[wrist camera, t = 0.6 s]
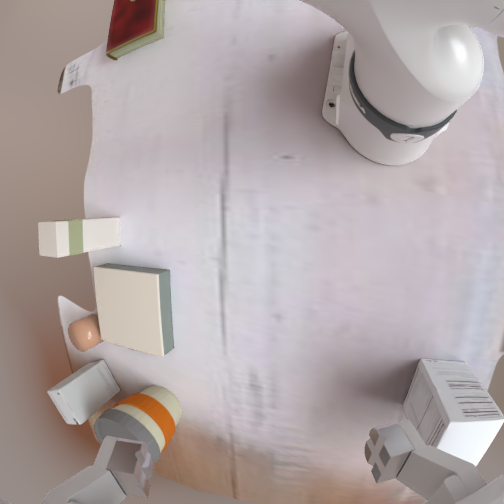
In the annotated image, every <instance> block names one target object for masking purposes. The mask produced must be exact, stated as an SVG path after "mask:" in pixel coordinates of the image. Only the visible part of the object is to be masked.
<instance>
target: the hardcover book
mask: <svg viewBox="0 0 504 504" xmlns="http://www.w3.org/2000/svg"><path fill="white" fill-rule="evenodd" d="M164 10H165V0H115V1H114V6H113V11H112V17H111V23H110V29H109V36H108V43H107V51H106V55H107V56H108V57H110V58H111V59H113V60H117V58H119V57H121V56H123V55H125V54H127V53H129V52H131V51H134V50H136V49H138V48H140V47H143V46H145V45H147V44H150V43H152V42H155V41H157V40H159V39H162V38H163V32H164Z"/></svg>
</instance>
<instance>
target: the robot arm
mask: <svg viewBox="0 0 504 504" xmlns="http://www.w3.org/2000/svg"><path fill="white" fill-rule="evenodd" d="M300 1H302V2H304V3H307V4H309V5H311V6H313V7H315V8H316V9H318V10H320V11H322V12H324V13H325V14H327V15H328V16H330V17H331V18H333V19H334V20H335V21H336V22H338V23H339V24H340V25H342V26H343V27H344V28H345V29H346V30H347V31H344V32H341V33H339V34H337V35H336V36H335V40H334V46H333V52H332V58H331V64H330V70H329V76H328V81H327V87H326V92H325V98H324V103H323V109H322V116H323V118H324V119H325V120H326V121H327V122H329V123H330V124H332V125H333V126H335V127H336V128H338V129H339V130H340V131H341V132H342V133H343V135H344V136H345V138H346V139H347V141H348V142H349V143H350V144H351V146H352V147H353V148H354V149H355V150H357V151H358V152H359V153H360V154H361V155H363V156H364V157H366V158H368V159H370V160H372V161H374V162H377V163H380V164H385V165H403V164H407V163H410V162H412V161H414V160H416V159H418V158H419V157H420V156H421V155H423V154H424V153H425V151H426V150H427V149H428V147H429V145H430V144H431V142H432V141H433V139H434V138H435V137H436V136H438V135H440V134H441V133H443V132H444V131H445V130H446V129H447V128H448V125H449V122H450V121H451V119H452V118H453V116H454V115H455V113H456V111H457V109H458V108H459V107H460V106H461V105H462V104H463V103H465V102H466V101H467V100H468V99H469V98H470V97H471V96H472V95H474V94H475V92H476V91H477V89H478V88H479V86H480V83H481V80H482V76H483V70H484V60H483V53H482V49H481V46H480V43H479V41H478V39H477V37H476V35H475V33H474V32H473V30H472V29H471V27H473V28H480V29H483V30H485V31H488V32H490V33H493V34H495V35H498V36H500V37H503V38H504V0H300ZM330 104H334V105H335V106H334V107H330V106H329V105H330ZM369 435H370V437H371V438H370V439H369V440H368V441H367V442H366V445H365V457H366V460H367V462H368V463H369V464H371V465H372V466H373V468H372V471H371V472H372V474H373V476H374V478H375V481H376V483H380V482H383V481H387V480H391V479H394V478H396V479H397V480H399V481H400V482H401V483H403V484H404V485H406V486H407V487H409V488H410V489H412V490H413V491H415V492H416V493H418V494H419V495H421V496H422V497H424V498H425V499H427V500H428V501H427V502H426V503H425V504H504V474H502V475H501V476H499V477H498V478H496V479H495V480H493V481H492V482H490V483H489V484H487V483H486V482H485V480H484V479H483V477H482V476H481V474H480V473H479V471H478V470H477V468H476V467H475V465H474V464H472V463H470V462H467V461H465V460H463V459H460V458H458V457H456V456H453V455H451V454H449V453H446V452H444V451H442V450H440V449H438V448H435V447H433V446H431V445H428V446H426V444H425V443H424V441H423V440H422V438H421V436H420V435H419V433H418V432H417V430H416V429H415V427H414V426H413V424H412V423H411V421H410V420H408V419H406V420H403V421H399V422H396V423H395V422H394V423H391V424H387V425H383V426H379V427H376V428H373V429H372V430H371V431H370V434H369ZM147 451H148V445H147V443H146V442H143V441H136V440H130V439H124V438H118V437H112V436H106V437H105V438H104V440H103V442H102V445H101V447H100V450H99V452H98V455H97V457H96V460H95V462H94V465H93V466H88V467H87V468H85V469H84V470H82V471H81V472H79V473H78V474H76V475H74V476H73V477H71V478H70V479H68V480H66V481H65V482H63V483H62V484H60V485H58V486H57V487H55V488H54V489H52V490H50V491H48V492H47V494H46V497H45V499H44V501H43V503H42V504H119V503H120V502H121V501H122V500H123V499H124V498H125V497H126V495H128V496H135V497H141V498H148V494H149V490H150V483H149V481H148V479H149V478H150V477H152V475H153V470H154V462H153V458H152V455H151V454H150V453H149V452H147ZM0 504H11V503H10V502H8V501H6V500H4V499H2V498H0Z"/></svg>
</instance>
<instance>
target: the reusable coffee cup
mask: <svg viewBox="0 0 504 504" xmlns="http://www.w3.org/2000/svg"><path fill="white" fill-rule="evenodd" d="M182 413H183V410H182V406H181V403H180V401H179V400H178V398H177V397H176V396H175V395H174V394H173V393H172V392H170V391H169V390H167V389H166V388H164V387H161V386H150V387H148V388H147V389H145V390H143V391H142V392H140V393H136V394H132V395H131V396H129V397H127V398H126V399H124V400H122V401H120V402H119V403H117V404H115V406H114V407H113V409H108V410H106V411H104V413H103V414H102V415H101V416H100V417H99V418H98V419H97V420H96V422H95V424H94V430H95V433H96V436H97V438H98V440H99V441H100V443H101V445H102V442H103V440H104V438H105V437H106V436H112V437H118V438H124V439H130V440H136V441H143V442H146V443H147V445H148V451H147V452H149V453H150V454H151V455H152V458H153V462H154V463H156V462H157V461H158V460H159V458H160V454H161V452H162V451H164V450H165V449H166V447H167V445H168V443H169V442H170V440H171V438H172V436H173V434H174V433H175V429H176V428H175V427H176V425H177V423H178V421H179V420H180V418H181V416H182Z"/></svg>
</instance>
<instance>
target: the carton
mask: <svg viewBox="0 0 504 504" xmlns="http://www.w3.org/2000/svg"><path fill="white" fill-rule="evenodd" d="M38 230H39V231H38V232H39V252H40V255H42V256H49V257H63V256H68V255H69V256H70V255H75V254H80V253H84V252H89V251H94V250H99V249H105V248H110V247H116V246H121V241H120V218H88V219H75V220H57V221H49V222H38Z"/></svg>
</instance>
